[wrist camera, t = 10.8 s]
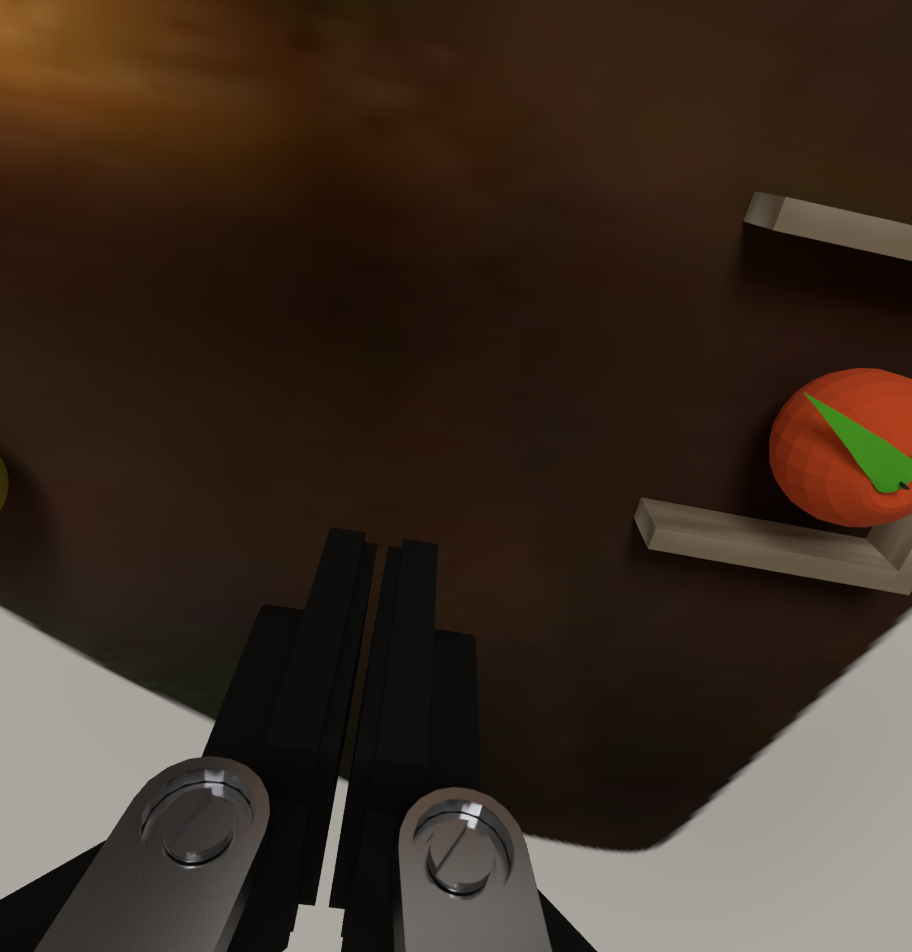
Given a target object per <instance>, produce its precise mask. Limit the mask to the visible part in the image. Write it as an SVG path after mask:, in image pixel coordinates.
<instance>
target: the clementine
mask: <svg viewBox="0 0 912 952" xmlns="http://www.w3.org/2000/svg"><path fill="white" fill-rule="evenodd" d="M769 451H770V465H771V468H772V471H773V474H774V477H775V479H776V481H777V483H778V484H779V486H780V488H781V489H782V490H783V492H784V493H785V494H786V495H787V497H788V498H789V499H790V500H791V502H793V503H794V504H796V505H797V506H798V507H800V508H801V509H803V510H804V511H806V512H807V513H809V514H810V515H812V516H814V517H815V518H817V519H820V520H823V521H827V522H830V523H834V524H838V525H842V526H846V527H869V526H875V525H880V524H885V523H890V522H894V521H896V520H899V519H901V518H904V517H907V516H909V515H910V514H912V379H910V378H907V377H904V376H900V375H897V374H894V373H891V372H888V371H884V370H881V369H870V368H855V369H849V370H843V371H839V372H834V373H829V374H826V375H824V376H822V377H820V378H817V379H815V380H813V381H811V382H809V383H808V384H807V385H805V386H804V387H802V388H801V389H800V390H798V391H797V392H796V393H794V395H793V396H792V397H791V398H790V399H789V400H788V401H787V402H786V403H785V404H784V406H783V407H782V408H781V410H780V412H779V414H778V415H777V417H776V419H775V421H774V423H773V427H772V430H771V434H770V438H769Z"/></svg>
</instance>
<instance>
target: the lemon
mask: <svg viewBox="0 0 912 952" xmlns="http://www.w3.org/2000/svg"><path fill="white" fill-rule="evenodd" d="M8 485H9V481H8V474H7V469H6V467H5V464H4V462H3V460H2V458H1V457H0V510H1V508H2V506H3V505H4V503H5V501H6V498H7V493H8Z"/></svg>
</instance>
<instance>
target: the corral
mask: <svg viewBox="0 0 912 952" xmlns="http://www.w3.org/2000/svg"><path fill="white" fill-rule="evenodd" d="M744 222H747V223H751V224H754V225H757V226H761V227H764V228H767V229H771V230H775V231H779V232H784V233H788V234H793V235H797V236H802V237H806V238H811V239H815V240H820V241H824V242H829V243H833V244H838V245H842V246H847V247H851V248H856V249H860V250H865V251H869V252H874V253H878V254H883V255H887V256H892V257H896V258H901V259H905V260H910V261H912V225H908V224H903V223H899V222H894V221H890V220H885V219H881V218H877V217H872V216H868V215H863V214H859V213H854V212H850V211H846V210H841V209H837V208H832V207H828V206H824V205H819V204H815V203H810V202H806V201H801V200H797V199H793V198H788V197H783V196H778V195H772V194H767V193H762V192H756V191H755V192H754V194H753V197H752V200H751V202H750V205H749V208H748V210H747V213H746V216H745V219H744ZM634 519H635V521H636V524H637V526H638V528H639V530H640V532H641V535H642V537H643V539H644V541H645V543H646V546H647V548H648V549H652V550H658V551H663V552H669V553H675V554H680V555H686V556H692V557H697V558H703V559H709V560H714V561H720V562H725V563H731V564H737V565H742V566H748V567H754V568H759V569H765V570H771V571H776V572H782V573H787V574H793V575H799V576H804V577H810V578H816V579H821V580H827V581H833V582H838V583H844V584H849V585H855V586H861V587H866V588H872V589H878V590H883V591H889V592H895V593H900V594H906V595H909V594H910V593H911V591H912V514H910V515H909V516H907V517H904V518H901V519H899V520H896V521H894V522H890V523H885V524H880V525H875V526H872V528H871V530H870V532H869V533H868V535H867V537H866V539H865V538H859V537H854V536H848V535H843V534H837V533H832V532H826V531H821V530H816V529H810V528H805V527H799V526H794V525H788V524H783V523H777V522H772V521H767V520H761V519H756V518H750V517H745V516H739V515H734V514H728V513H723V512H718V511H712V510H707V509H701V508H696V507H690V506H685V505H679V504H674V503H669V502H663V501H658V500H652V499H647V498H641V499H640V501H639V504H638V507H637V510H636V512H635V515H634Z"/></svg>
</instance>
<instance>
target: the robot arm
mask: <svg viewBox="0 0 912 952" xmlns="http://www.w3.org/2000/svg"><path fill="white" fill-rule="evenodd" d="M364 540H365V533H364V532H358V531H351V530H345V529H339V528H332V527H331V528H330V530H329V533H328V536H327V539H326V543H325V546H324V549H323V553H322V556H321V559H320V562H319V566H318V569H317V572H316V576H315V579H314V582H313V585H312V589H311V592H310V595H309V599H308V602H307V605H306V609H305V610H300V609H293V608H287V607H280V606H273V605H266V604H264V605H263V606H262V607H261V609H260V611H259V613H258V615H257V618H256V620H255V623H254V625H253V628H252V630H251V633H250V636H249V638H248V641H247V643H246V646H245V648H244V651H243V653H242V656H241V658H240V661H239V663H238V666H237V669H236V671H235V674H234V676H233V679H232V681H231V684H230V686H229V689H228V691H227V694H226V696H225V699H224V702H223V704H222V707H221V709H220V712H219V714H218V717H217V719H216V722H215V724H214V727H213V729H212V732H211V735H210V737H209V740H208V742H207V745H206V747H205V750H204V752H203V755H202V757H201V758H193V759H188V760H185V761H183V762H180V763H178V764H175V765H173V766H170V767H168V768H166V769H165V770H163V771H162V772H160V773H159V774H158V775H156V776H155V777H153V778H152V779H151V780H149V781H148V782H147V783H146V785H145V786H144V787H143V788H142V789H141V791H140V792H139V793H138V794H137V795H136V796H135V797H134V799H133V801H132V802H131V804H130V805H129V807H128V808H127V809H126V811H125V813H124V814H123V816H122V817H121V819H120V820H119V822H118V824H117V825H116V826H115V828H114V829H113V831H112V833H111V834H110V836H109V837H108V839H107V840H106V841H103V842H102V843H100V844H98V845H97V846H95V847H93V848H91V849H89V850H88V851H86V852H84V853H82V854H80V855H79V856H77V857H75V858H74V859H72V860H70V861H68V862H66V863H65V864H63V865H61V866H59V867H58V868H56V869H54V870H52V871H50V872H49V873H47V874H45V875H43V876H42V877H40V878H38V879H36V880H34V881H33V882H31V883H29V884H28V885H26V886H24V887H22V888H20V889H19V890H17V891H15V892H13V893H12V894H10V895H8V896H6V897H4V898H3V899H1V900H0V952H282V951H284V950H285V949H286V948H287V946H288V941H289V936H290V932H293V930H294V925H295V919H296V915H297V910H298V905H299V904H303V905H313V906H314V905H315V902H316V896H317V892H318V886H319V880H320V875H321V869H322V863H323V858H324V852H325V847H326V841H327V836H328V830H329V824H330V819H331V813H332V808H333V802H334V797H335V790H336V785H337V780H338V774H339V769H340V763H341V758H342V752H343V746H344V741H345V735H346V730H347V724H348V718H349V713H350V707H351V702H352V696H353V690H354V685H355V679H356V673H357V667H358V661H359V655H360V648H361V642H362V636H363V630H364V624H365V618H366V611H367V605H368V599H369V593H370V587H371V581H372V574H373V568H374V562H375V556H376V550H377V544H374V543H367V542H364ZM437 553H438V545H437V544H433V543H427V542H421V541H414V540H408V539H403V543H402V548H399V547H393V546H388V551H387V557H386V563H385V569H384V574H383V580H382V586H381V592H380V598H379V603H378V609H377V615H376V621H375V627H374V633H373V638H372V644H371V650H370V656H369V662H368V667H367V673H366V679H365V685H364V691H363V697H362V704H361V710H360V716H359V722H358V728H357V735H356V741H355V747H354V753H353V759H352V765H351V772H350V778H349V784H348V791H347V796H346V803H345V809H344V815H343V821H342V827H341V834H340V840H339V846H338V852H337V858H336V864H335V871H334V877H333V883H332V889H331V895H330V902H329V907H331V908H340V909H345V912H344V918H343V925H342V932H341V937H343V941H342V949H341V952H597V951H596V950H595V949H594V948H593V947H592V946H591V945H590V944H589V943H588V942H587V940H586V939H585V938H584V937H583V936H582V935H581V934H580V933H579V932H578V931H577V930H576V929H575V928H574V927H573V926H572V925H571V923H570V922H568V920H567V919H566V918H565V917H564V916H563V915H562V914H561V913H560V912H559V911H558V910H557V909H556V908H555V907H554V906H553V904H552V903H551V902H550V901H548V899H547V898H546V897H545V896H544V895H543V894H542V893H541V892H540V891H539V890H538V889H537V886H536V882H535V878H534V874H533V870H532V865H531V861H530V857H529V853H528V849H527V845H526V842H525V839H524V837H523V834H522V832H521V829H520V827H519V825H518V824H517V822H516V821H515V820H514V818H513V817H512V816H511V814H510V813H509V812H508V810H507V809H506V808H504V807H503V806H502V805H500V804H499V803H498V802H497V801H495V800H494V799H493V798H492V797H490V796H487V795H485V794H483V793H481V790H480V759H479V728H478V698H477V667H476V643H475V637H474V635H470V634H463V633H456V632H450V631H443V630H436V629H434V617H435V596H436V574H437Z"/></svg>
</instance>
